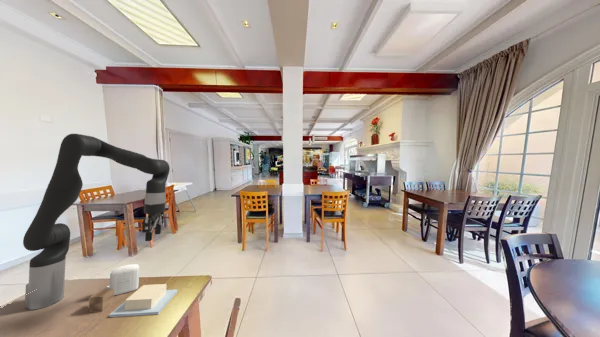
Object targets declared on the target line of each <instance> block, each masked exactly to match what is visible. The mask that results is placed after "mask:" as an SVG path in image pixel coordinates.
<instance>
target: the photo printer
mask: <svg viewBox="0 0 600 337" xmlns="http://www.w3.org/2000/svg"><path fill="white" fill-rule="evenodd" d="M139 280H140V265H139V264H138V263H134V264H133V263H132V264H131V263H130V264H125V265H121V266H118V267H115V268H113V269H111V272H110V276H109V285H110V287H109V289H114V296H118V295H122V294H125V293H130V292H133V291H134V292H135V291H137V290H138V289H139V286H140V285H139V284H140V282H139Z"/></svg>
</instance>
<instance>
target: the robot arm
mask: <svg viewBox="0 0 600 337" xmlns="http://www.w3.org/2000/svg"><path fill="white" fill-rule="evenodd" d="M82 157H99V158H106V159H109V160H111V161H114V162H116V163H117V164H119V165H122V166H124V167H128V168H131V169H135V170H138V171H140V172H142V173H144V174H146V175H147V174H148V175H152V178H151V179H149V180H147V182H146V184H145V185H146V188H145V195H144V207H143V208H144V209H143V213H144V214H146V215H147V217H145V218H143V220H142V231H141V232H142V233H143V234H145V237H144V238H145V239H144V240H145V242H151V241H152V240H153V231H154V235H160V234H161V233H162V226H163V224H164V223H165V212H166V184H167V180H168V177H169V174H170V171H171V170H170V168H171V167H170V164H169V162H168V161H167V160H164V159H157V158H151V157H147V156H146V155H144V154H141V153H140V152H139V153H138V152H135V151H131V150H129V149H124V148H122V147H121V148H120V147H117V146H115V145H112V144H110V143H108V142H106V141H104V140H101V139H100V138H98V137H95V136H90V135H86V134H80V133H69V134H67V135H66V136H64V137H63V139H62V141H61V142H60V146H59V151H58V155H57V159H56V164H55V166H54V170H53V173H52V175H51V178H50V180H49V183H48V184H47V187H46V189H45V192H44V195H43V198H42V200H41V202H40V206H39V207H38V210H37V212H36V214H35V216H34V217H33V219H32V221H31V223H30V225H29V227H28V228H27V230H26V231H25V233H24V236H23V239H22V240H23V241H22V245H23V247H24V249H25V250H26V251H30V252H37V251H40V250H42V251H41V252H39V253H38V254H37V255H35V256H34V257H31V259H30V260H29V263H28V264H29V265H28V266H29V268H28V269H29V270H28V283H27V284H26V285H25V294H24V295H25V296H24V308H26V309H27V310H31V311H33V310H39V309H43V308H46V307H49V306H51V305H54V304H56V303H57V302H60V300H62V299H63V298H64V297H65V281H66V278H65V277H66V257H67V256H66V255H67V254H68V252H69V249H70V242H71V241H70V240H71V230H70V228H69V226H68V225H67V224H65V223H56V222H57V220H58V219H59V218H60V216H61V215H63V214H64V213H65V212H66V211H67V210H68V209H69V208H70V207H72V206H73V205H74V203H75V202H76V201H77V200H78V198H79V197H80V194H81V192H82V189H83V185H84V183H83V180H82V177H81V175H80V172H79V163H80V161H81V158H82ZM36 289H37V290H36ZM34 290H35V291H34ZM32 291H33V292H32ZM30 292H31V293H30ZM28 293H29V294H28ZM26 294H27V295H26Z"/></svg>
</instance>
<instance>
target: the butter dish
mask: <svg viewBox="0 0 600 337" xmlns="http://www.w3.org/2000/svg"><path fill="white" fill-rule="evenodd" d="M167 286H168V285H167V283H161V284H160V283H159V284H158V283H156V284H143V285H142V286H140V287H138V289H137V290H135V291H134V292H133V293H132V294H131V295H129V296H128V297H127V298H126V299H125V300H124V302H123V303H121V304H120V305H119V306H118V307H116V308H115V309H114V310H112V312H111V313H110V314H109V316H108V318H119V317H138V316H152V315H153V316H155V315H159V314H160V313H161V312H162V311H163V310H164V308H165V307H166V306H167V305H168V303H169V302H170V301H171V300H172V299H173V298H174V296H176V295H177V293H178V291H179V289H176V288H175V289H167Z"/></svg>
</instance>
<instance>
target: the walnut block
mask: <svg viewBox="0 0 600 337" xmlns="http://www.w3.org/2000/svg"><path fill="white" fill-rule="evenodd" d="M114 299H115V295H114V289H104V288H102V289H100V290H99V291H97V292H95V293H94V294H92V295H91V296H89V297H88V313H99V312H104V311H105V310H106V309H108V308H109V307H110V306H111V305H113V304H114V303H115V302H114Z"/></svg>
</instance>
